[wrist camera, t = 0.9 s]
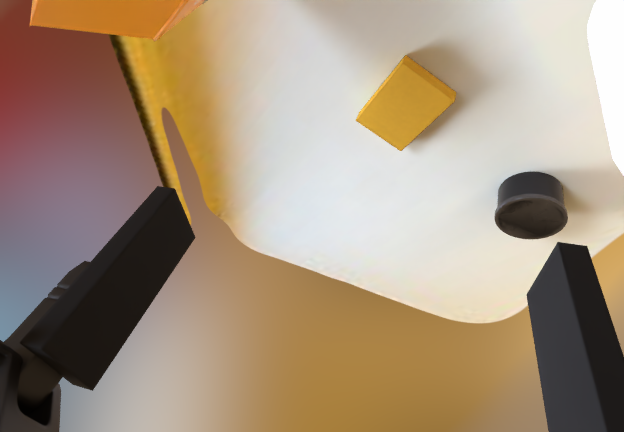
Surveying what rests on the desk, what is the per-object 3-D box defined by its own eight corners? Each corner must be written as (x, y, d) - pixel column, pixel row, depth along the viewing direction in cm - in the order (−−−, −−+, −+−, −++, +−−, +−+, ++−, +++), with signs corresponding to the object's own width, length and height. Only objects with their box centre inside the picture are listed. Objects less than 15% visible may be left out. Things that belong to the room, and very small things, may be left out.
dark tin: (534, 159, 37) (534, 187, 34) (580, 193, 38) (583, 222, 35) (483, 190, 42) (480, 217, 39) (525, 219, 43) (524, 246, 41)
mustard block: (405, 54, 33) (402, 62, 32) (456, 92, 34) (455, 101, 33) (359, 112, 40) (355, 120, 39) (403, 142, 41) (400, 151, 40)
